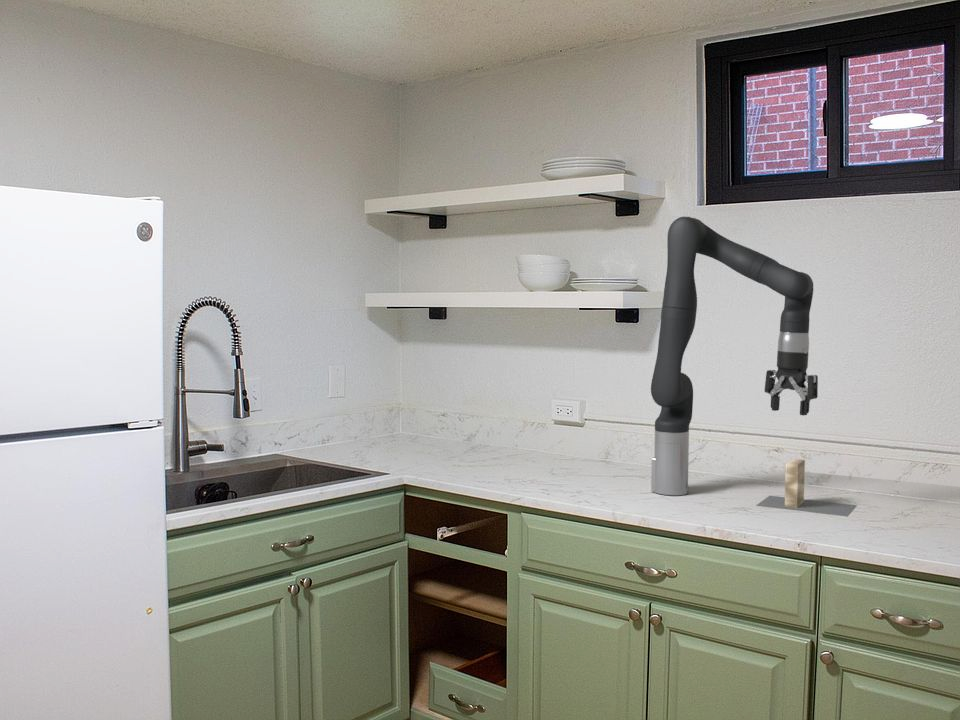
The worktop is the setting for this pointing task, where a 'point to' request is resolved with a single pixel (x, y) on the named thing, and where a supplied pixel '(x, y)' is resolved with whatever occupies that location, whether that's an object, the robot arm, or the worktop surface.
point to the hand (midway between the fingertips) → (789, 412)
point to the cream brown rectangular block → (794, 483)
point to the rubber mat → (809, 506)
